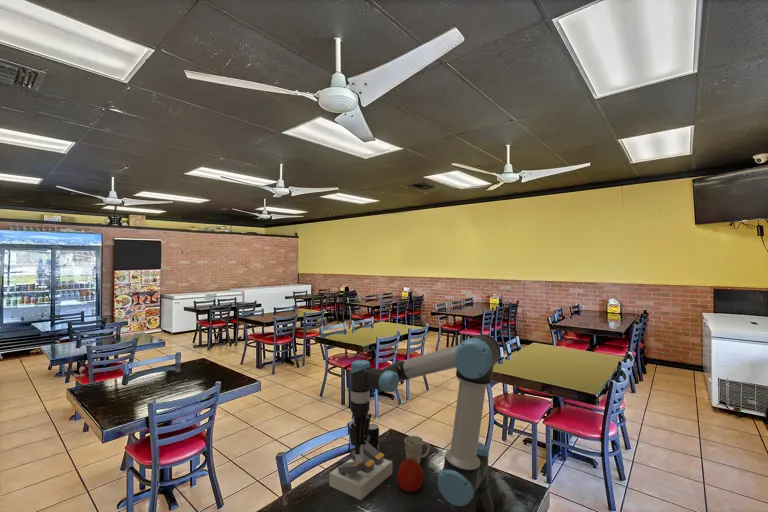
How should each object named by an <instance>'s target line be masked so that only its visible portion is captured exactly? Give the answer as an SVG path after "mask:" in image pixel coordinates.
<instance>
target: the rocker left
mask: <svg viewBox="0 0 768 512" xmlns="http://www.w3.org/2000/svg"><path fill="white" fill-rule="evenodd" d="M342 464H343V465H342ZM342 464H341V465H339V466H340V467H339V466H337V468H338V470H339V473H348V472H358V471H359V470H361V469H362V468H364V467H365V465H364V461H363V462H362V463H359V462H349V463H345V462H344V463H342Z"/></svg>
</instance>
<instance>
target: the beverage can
mask: <svg viewBox="0 0 768 512" xmlns="http://www.w3.org/2000/svg"><path fill="white" fill-rule="evenodd" d="M365 442H368V443H369V444H370V445H372V446H373V447H374V448H375V449H377V450H378V451H379V452H380V428H379V425H378V424H376V423H370V425H369V432H368V439H367V441H366V440H365Z"/></svg>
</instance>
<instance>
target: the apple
mask: <svg viewBox="0 0 768 512" xmlns="http://www.w3.org/2000/svg"><path fill="white" fill-rule="evenodd" d="M423 481H424V472H423V469H422V467H421V465H420V464H418V463H417V461H415V460H413V459H406V458H405V459H404V460H402V462H401V464H400V465H399V468H398V471H397V484H398V486H399V488H400V489H401V490H402V491H405V492H410V493H411V492H412V493H415V492H417V491H418V490H420V489H421V487H422V484H423Z"/></svg>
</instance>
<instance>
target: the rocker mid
mask: <svg viewBox="0 0 768 512" xmlns="http://www.w3.org/2000/svg"><path fill="white" fill-rule="evenodd" d="M349 458H350V459H353V460H354V461H355V449H354V450H352V451H350V453H349ZM363 461H364V465H365V467H364V468H363V469H364V470H365V471H366V472H368V471H369V470H370V469H372V468H373V467H374V465H375V462H374V461H373V460H372V459H370V458H369V457H367V456H366V455H365V454H364V453H363ZM355 462H356V461H355Z"/></svg>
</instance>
